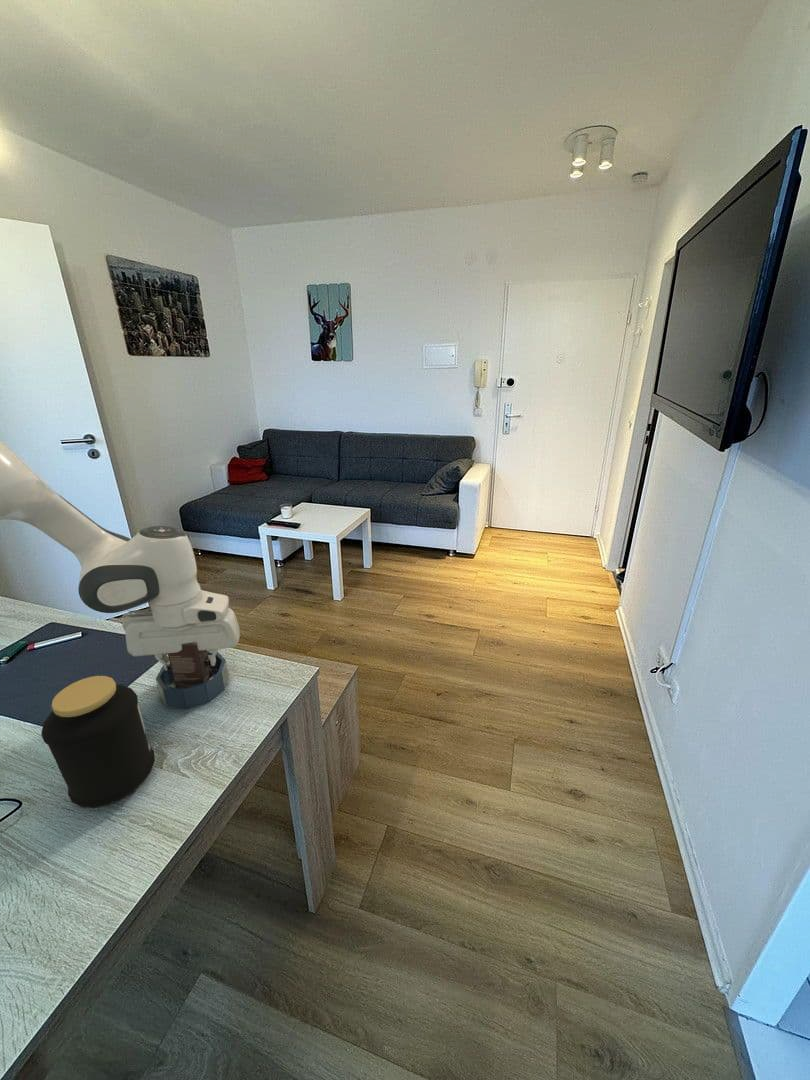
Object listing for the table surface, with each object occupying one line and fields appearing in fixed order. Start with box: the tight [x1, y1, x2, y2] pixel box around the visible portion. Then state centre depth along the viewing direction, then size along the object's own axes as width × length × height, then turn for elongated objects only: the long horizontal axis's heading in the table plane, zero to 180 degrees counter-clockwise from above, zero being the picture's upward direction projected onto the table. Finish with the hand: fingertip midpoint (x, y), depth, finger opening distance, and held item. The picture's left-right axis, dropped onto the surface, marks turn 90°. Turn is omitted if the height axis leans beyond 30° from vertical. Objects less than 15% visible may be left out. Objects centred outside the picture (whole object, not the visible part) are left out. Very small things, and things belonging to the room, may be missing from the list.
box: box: [167, 642, 213, 689], centre depth 87 cm, size 6×4×12 cm
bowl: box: [155, 650, 230, 710], centre depth 89 cm, size 12×13×4 cm
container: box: [41, 675, 156, 809], centre depth 66 cm, size 12×12×18 cm
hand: (191, 666), depth 88 cm, fingers open, 6 cm apart
